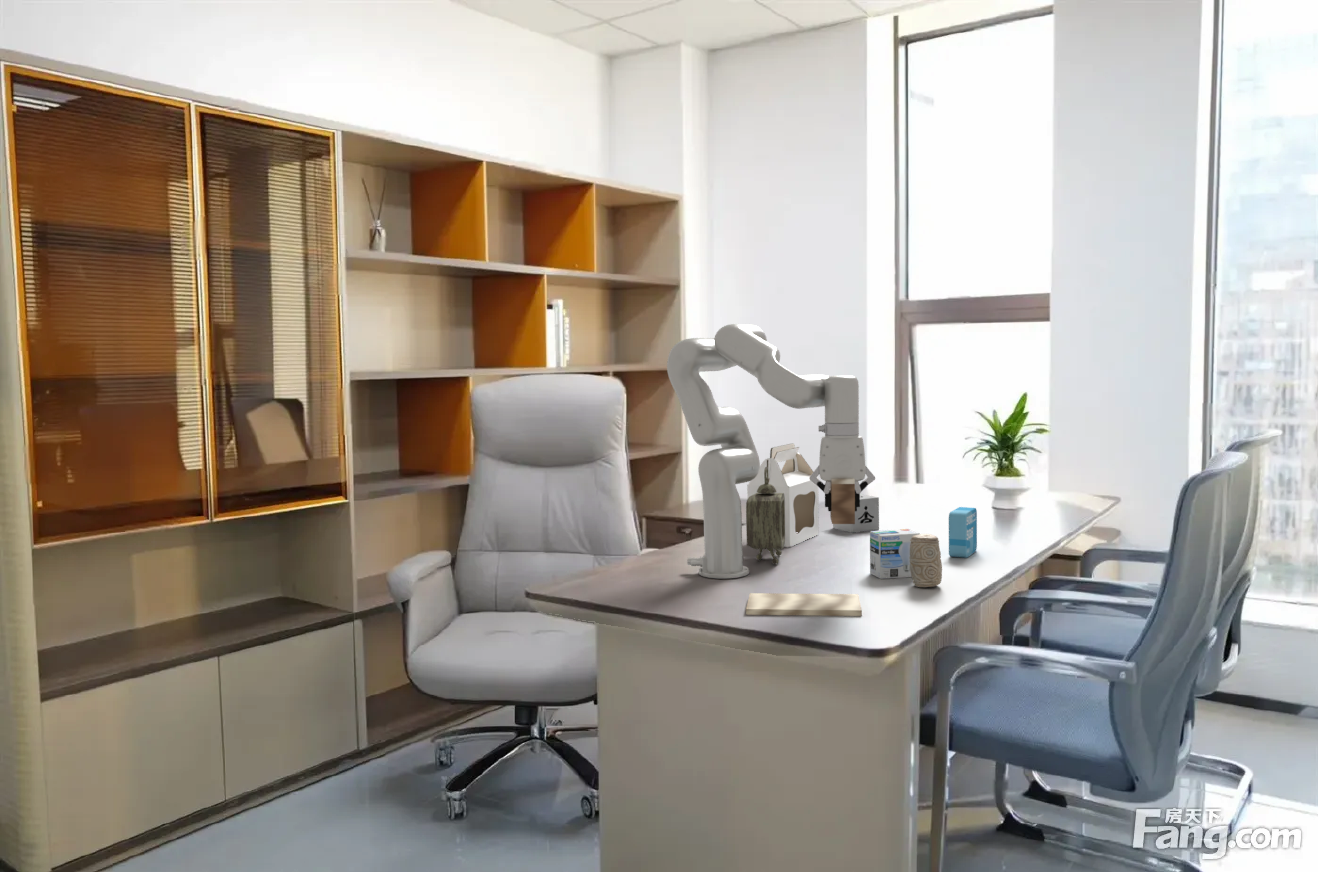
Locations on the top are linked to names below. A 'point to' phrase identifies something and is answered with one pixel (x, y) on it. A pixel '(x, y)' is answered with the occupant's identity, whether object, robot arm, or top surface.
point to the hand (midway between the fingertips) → (842, 509)
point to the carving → (925, 560)
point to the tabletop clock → (766, 520)
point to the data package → (962, 532)
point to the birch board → (804, 604)
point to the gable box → (792, 492)
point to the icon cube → (864, 516)
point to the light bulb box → (890, 553)
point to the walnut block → (842, 501)
